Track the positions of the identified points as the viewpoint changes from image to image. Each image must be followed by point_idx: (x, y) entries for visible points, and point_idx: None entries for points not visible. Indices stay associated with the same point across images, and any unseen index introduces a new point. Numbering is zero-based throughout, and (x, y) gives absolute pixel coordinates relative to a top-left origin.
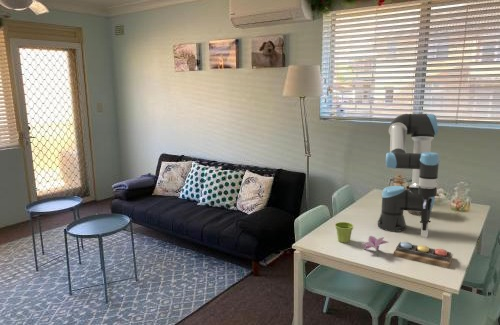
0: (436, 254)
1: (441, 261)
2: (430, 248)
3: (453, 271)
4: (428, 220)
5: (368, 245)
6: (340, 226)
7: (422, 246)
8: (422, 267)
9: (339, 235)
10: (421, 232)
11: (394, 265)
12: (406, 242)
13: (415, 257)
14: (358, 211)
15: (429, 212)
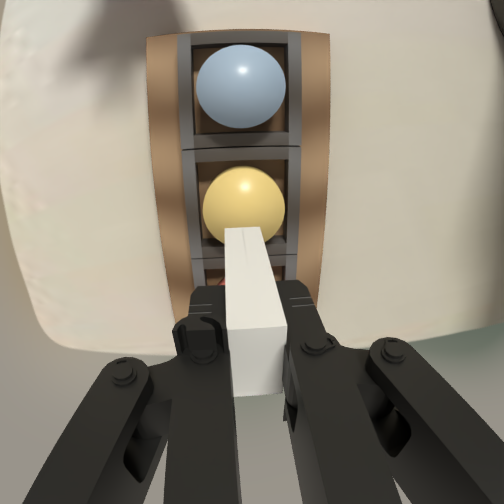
0: (218, 284)
1: (182, 303)
2: (293, 239)
3: (161, 335)
4: (291, 417)
5: None
6: None
7: (260, 201)
8: (105, 222)
9: None
10: (225, 250)
11: (43, 101)
12: (276, 80)
13: (153, 172)
14: None
15: (407, 491)
